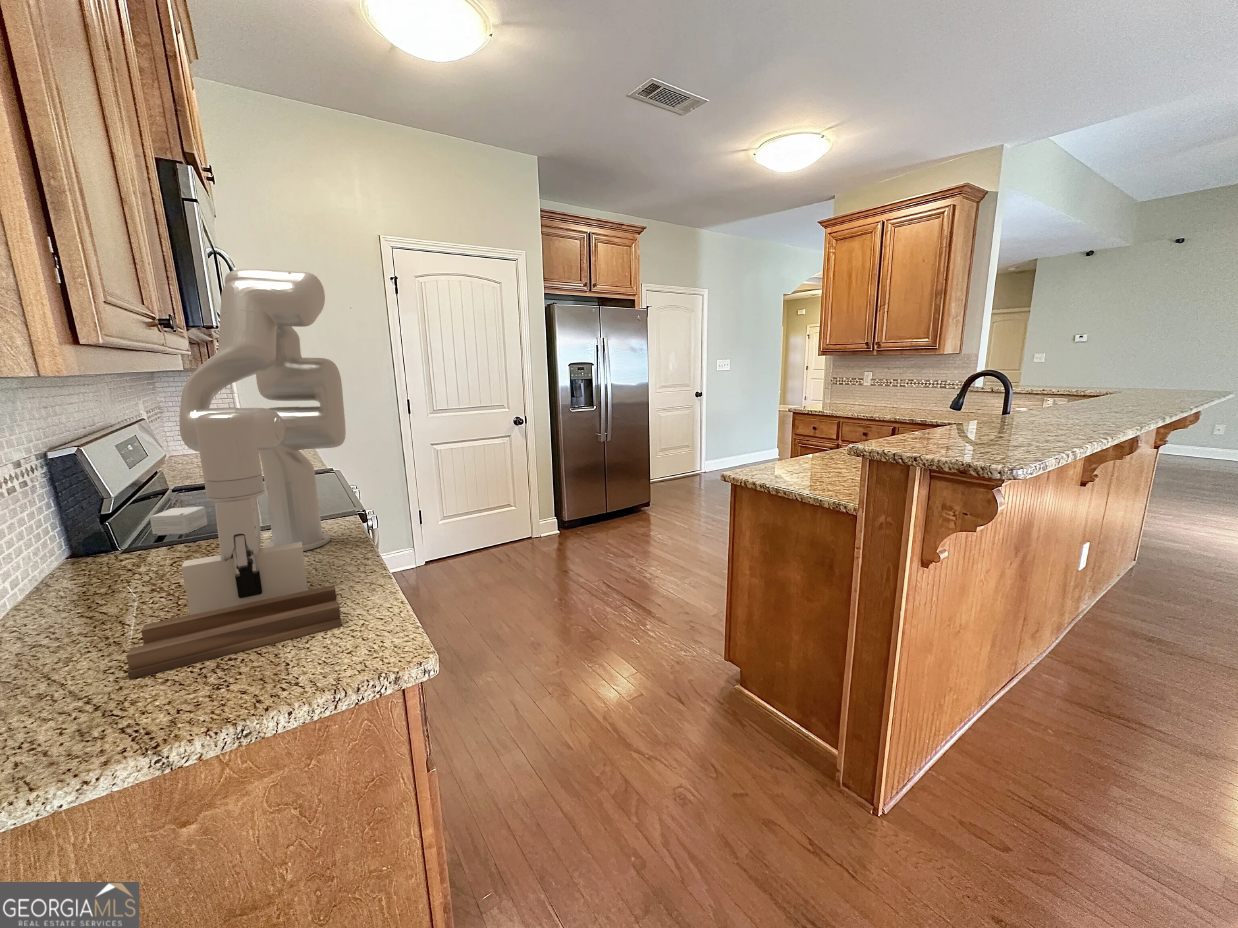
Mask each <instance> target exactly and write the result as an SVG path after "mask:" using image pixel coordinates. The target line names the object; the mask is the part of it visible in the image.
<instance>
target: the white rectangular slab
mask: <svg viewBox="0 0 1238 928" xmlns="http://www.w3.org/2000/svg"><path fill="white" fill-rule="evenodd" d="M247 555H251V552H247ZM255 559H256V566H257V571H259V572H260V579H261V586H262V593H261V594H260V595H255V596H250V597H245V598H239V597H238V591H237V585H236V579H235V575H236V572H235V565H234V558H233V552H232V555H231V558H230V559H228V560H227V561H226V562H224V561H222V560H221V554H219V555H214V556H213V555H212V556H206V557H200V558H195V559H194V558H193V559H187V560H184V562H183V563H182V565H181V567H180V568H181V573H182V579H183V583H184V588H185V594H186V600H187V605H188V610H189V615H192V614H197V613H202V612H207V611H211V610H216V609H221V608H226V607H231V606H235V605H240V604H245V603H250V602H254V601H259V600H264V599H269V598H274V597H278V596H283V595H288V594H293V593H297V592H302V591H307V590H309V587H308V586H309V585H308V579H307V573H306V564H305V563H306V562H305V556H304V551H303V548H302V542H297V543H291V544H285V545H279V546H273V547H267V548H265V547H262V548H261V547H260V550H259V554H258V555H257V556H255ZM248 561H250V562H251V559H250V560H248Z"/></svg>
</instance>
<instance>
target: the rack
mask: <svg viewBox="0 0 1238 928" xmlns="http://www.w3.org/2000/svg"><path fill="white" fill-rule="evenodd" d="M335 586H336V585H335V584H330V585H326V586H322V587H316V588H313V589H308V590H307V591H302V592H297V593H293V594H288V595H283V596H278V597H274V598H269V599H264V600H259V601H254V602H250V603H245V604H240V605H235V606H231V607H226V608H221V609H216V610H211V611H207V612H202V613H197V614H192V615H190V614H188V615H184V616H178V617H173V618H169V619H164V620H159V621H155V622H149V623H146V624H145V623H144V625H143V627H142V628H141V630H140V632H141V637H142V643H143V644H142V645H139V646H136V647H132V648H131V647H130V648H129V650H128V652H127V653H126V660H127V664H128V671H127V675H128V680H133V679H137V678H141V677H143V676H144V677H145V676H149V675H151V674H152V675H153V674H156V673H160V672H164V671H169V670H172V669H176V668H179V667H185V666H187V665H188V666H189V665H192V664H196V663H199V662H203V661H208V660H212V659H215V658H220V657H223V656H227V655H232V654H236V653H239V652H243V651H248V650H251V649H255V648H259V647H263V646H267V645H271V644H275V643H279V642H280V643H281V642H283V641H287V640H291V639H296V638H299V637H304V636H307V635H311V634H315V633H318V632H319V633H320V632H323V631H328V630H331V629H337V628H340V627H342V622H341V621H342V619H341V615H340V614H341V613H340V606H339V602H338V600H337V593H336V587H335Z"/></svg>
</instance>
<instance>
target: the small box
mask: <svg viewBox="0 0 1238 928" xmlns="http://www.w3.org/2000/svg"><path fill="white" fill-rule="evenodd" d="M149 520H150V525H151V530H152V531H151V532H152V535H153V534H157V535H156V536H167V535H168V536H169V535H170V534H171V535H184V534H185V533H188V534H190V533H189V532H191V533H193V532H194V530H195V531H197V530H199V529H201V528H203V527H205V526H207V525H208V517H207V513H206V507H205V506H190V507H189V506H188V507H171V508H168V509H166V510H164V511H161V512H158V513H157V514H153V515H150V516H149ZM192 531H193V532H192ZM185 535H186V534H185Z"/></svg>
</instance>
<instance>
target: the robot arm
mask: <svg viewBox="0 0 1238 928" xmlns="http://www.w3.org/2000/svg"><path fill="white" fill-rule="evenodd" d="M220 295H221V296H220V309H219V325H218V326H219V328H218V329H219V330H218V342H217V343H218V345H217V346H218V348H217V351H216V353H214V354H213V355H212V356H211V357H210V358H208V359H207V360H205V361H204V362H203V363H202V364H201V365H200V366H198V368H197V369H196V370H195V371H194V372H193V373H192V374H191V375H190V377H189V378H188V379H187V381H186V382H185V384H184V386H183V389H182V391H181V397H180V409H179V417H178V418H179V419H178V421H179V422H178V423H179V426H178V427H179V434H180V435H179V436H180V438H181V440H182V441H183V444H184V445H185V446H187V448H188V449H189V450H192V451H193V452H198V453H199V458H200V464H201V465H200V466H201V470H202V471H201V472H202V476H203V482H204V487H205V495H206V500H207V501H209V502H215V519H216V520H215V521H216V527H217V536H218V543H219V552H220V554H219V555H221V560H222V561H224V562H226V561H227V560H228V559H230V558H231V555H232V553H233V558H234V565H235V572H236V575H235V579H236V585H237V591H238V597H239V598H245V597H250V596H255V595H260V594H261V593H262V586H261V579H260V572H259V571H257V566H256V559H255V556H257V555H258V554H259V550H260V548H261V544H262V543H261V542H262V540H261V539H262V538H261V537H262V536H261V535H262V534H261V533H262V532H261V531H262V530H261V520H260V519H261V518H260V512H259V505H258V497H260V496H262V495H264V494H265V495H266V501H267V509H268V514H269V515H268V516H269V522H270V528H271V537H272V539H271V540H269V541H268V542H266V543H265V545H264V548H267V547H273V546H279V545H285V544H291V543H297V542H302V548H303V552H306V551H310V550H314V549H316V548H319V547H322V546H324V545H326V544H328V543H329V542H330V541H331V533H329V532H326V531H323V530H322V529H323V528H322V520H321V513H320V504H319V495H318V494H319V493H318V486H317V480H316V470H315V468H314V466H313V464H312V463H311V461H310V460H309V459H308V458H307V456H305V455H304V454H303V453H302V452H301V451H303V450H315V449H316V450H318V449H319V450H321V449H322V450H323V449H334V448H339V447H340V446H342V445H343V444H344V442H345V440H346V429H347V428H346V417H345V407H344V406H345V405H344V396H343V395H344V394H343V384H342V377H341V376H342V375H341V374H340V370H339V368H338V366H337V364H336V363H335V362H334V361H333V360H331V359H329V358H324V357H302V354H301V353H302V349H301V342H300V340H301V339H300V336H299V333H298V332H297V331H296V330H295V329H294V328H295V327H302V328H303V327H304V328H305V327H310V326H311V325H313V324H314V323H315V321H317V318H318V317H319V316H320V315H321V313H322V312H323V310H324V307H325V303H326V301H325V300H326V293H325V290H324V285H323V284H322V282H321V280H320V279H319V277H318V276H317V275H315V274H313V273H311V272H304V271H292V270H274V269H263V268H262V269H261V268H241V269H235V270H231V271H228V272H227V274H225V277H224V286H223V287H222V290H221V294H220ZM253 375H255V378H256V386H257V391H258V392H259V394H260V395H261V397H263V398H264V399H266V400H269V401H276V402H277V401H279V402H298V401H300V402H303V401H305V402H306V401H309V402H310V401H313V402H314V401H315V402H318V403H319V405H318V406H276V407H275V406H274V407H267V408H265V407H221V408H219V407H217V408H216V407H215V408H212V407H211V403H212V401H213V400H214V398H215V396H217V394H218V393H219V392H221V391H222V390H223V389H225V388H226V387H228V386H230V385H232V384H233V383H234V384H235V383H236V382H238V381H241V380H244V379H246V378H249V377H252V376H253ZM210 407H211V408H210ZM247 552H251V555H247ZM250 559H251V562H250V561H248V560H250Z"/></svg>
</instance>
